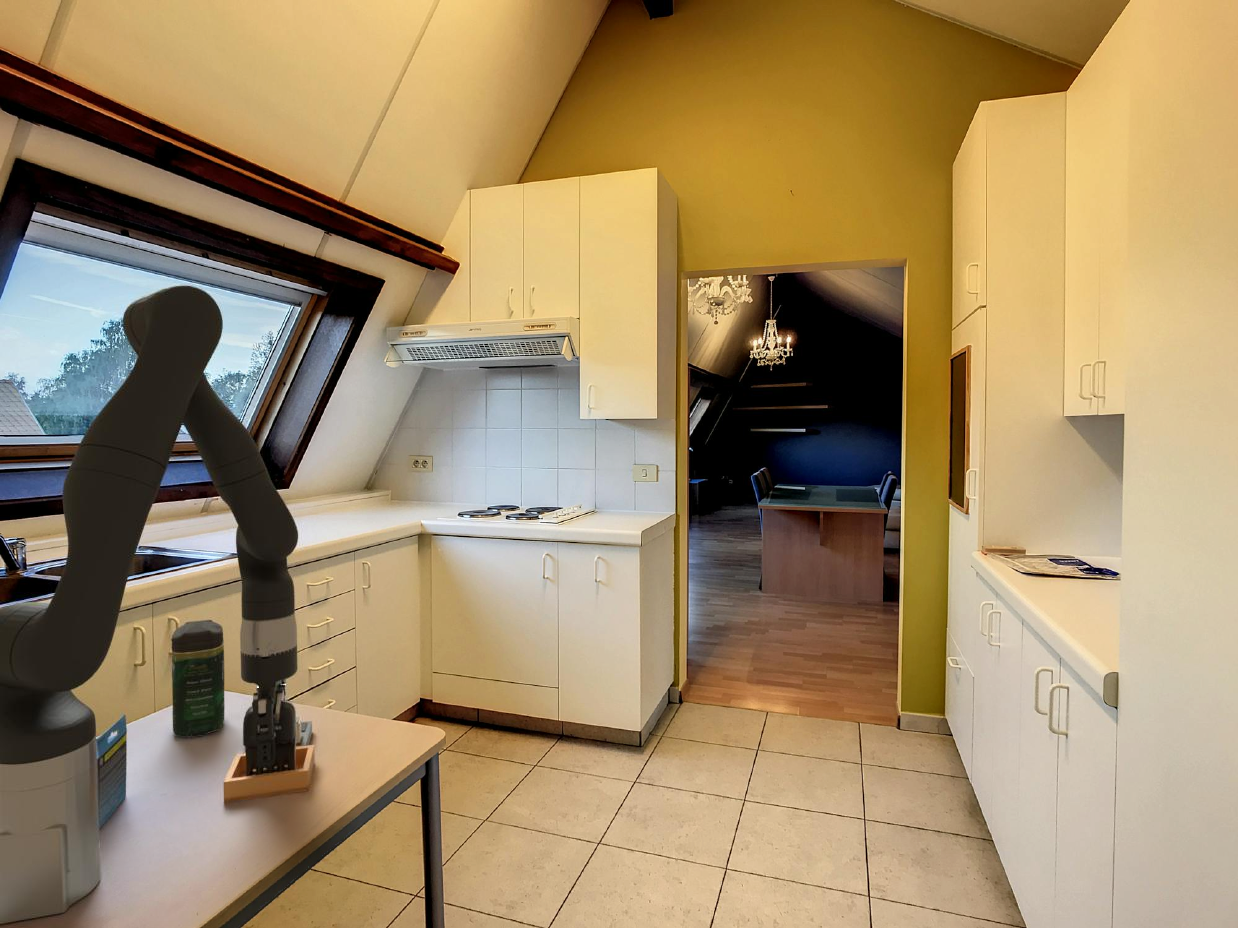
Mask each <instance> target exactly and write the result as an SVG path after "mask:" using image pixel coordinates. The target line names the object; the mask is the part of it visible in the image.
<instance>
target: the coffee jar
mask: <svg viewBox="0 0 1238 928" xmlns="http://www.w3.org/2000/svg"><path fill="white" fill-rule="evenodd" d="M170 641H171V681H172V682H171V684H172V685H171V686H172V687H171V689H172V693H171V694H172V731H173V734H174V735H175V737H177V738H179V737H180V738H181V737H183V738H184V737H189V738H190V737H191V738H196V737H202V736H205V735H207V734H209V733H211V732H214V731H219V730H220V729H221V728H222V727H223V724H224V722H225V709H226V708H225V707H226V706H225V647H224V646H225V645H224V643H225V642H224V631H223V626H222V625H221V624H219V623H217V622H216V621H213V620H212V619H205V620H193V621H192V620H191V621H187V622H185V623H184V624H183V625H181V626H179V627H178V628H176V629H175V630H174V632H173V634H172V635H171V639H170Z"/></svg>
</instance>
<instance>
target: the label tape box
mask: <svg viewBox="0 0 1238 928" xmlns="http://www.w3.org/2000/svg"><path fill="white" fill-rule="evenodd" d="M127 732H128V730H127V718H126V714H125V713H124V714H123V715H122V716H121V717H120V718H119V719H118V720H116V722H114V723H113V724H112V725H111V726H110V727H108V729H106V730H105V731H104V732H103V733H102V734H100V735H99V736H98V737H96V752H97V786H98V816H99V830H100V829H101V827H102V826H103V825H104V824H105V822H106V821H107V820H108V819H109V818H110V816H112V814H113V813H114V811H116V809H117V808H118V806H120V804H121V803H122V802H123V801H124V799H125V798H126V797H127V765H128V764H127V755H128V754H127V743H128V742H127V739H128V738H127V735H128V734H127ZM112 733H113V734H115V733H116V734H115V735H113V736H111V735H112Z"/></svg>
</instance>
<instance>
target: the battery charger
mask: <svg viewBox="0 0 1238 928" xmlns="http://www.w3.org/2000/svg"><path fill="white" fill-rule="evenodd" d="M296 711H297V710H296V707H295V704H294V703H293V702H292V701H289V700H287V701H285V700H283V702H282V704H281V715H280V721H279V722H278V723H277V724H276V732H275V733H276V736H275V762H274V764H272V765H267V766H259V765H258V764H257V742H255V743H253V740H252V736H253V708H252V705H250V706H249V707H248V708H247V710H246V711H245V713H244V714H245V715H244V717H243V723H242V745H243V747H244V750H245V753H246V776H254V775H261V774H268V773H276V772H283V771H290V770H296V717H297V712H296ZM275 713H276V712H275ZM275 713H274V714H273V715H275ZM265 731H268V725H262V726H261V732H265Z"/></svg>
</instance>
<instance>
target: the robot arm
mask: <svg viewBox="0 0 1238 928" xmlns="http://www.w3.org/2000/svg"><path fill="white" fill-rule="evenodd" d="M223 328H224V325H223V315H222V312H221V310H220V307H219V305H218V303H217V302H216V300H215V299H214V298H213V297H212V295H211V294H210V293H208V292H207V291H205V290H204V289H202V288H201V287H197V286H193V285H188V284H187V285H186V284H180V285H172V286H167V287H164V288H160V289H158V290H156V291H154V292H150V293H148V294H146V295H144V296H141V297H139V298H137V299H135V300H134V301H132V302H131V303H130V304H129V305H127V308H126V309H125V311H124V312H123V317H122V329H123V333H124V335H125V337H126V339H127V342H128V343H129V345H130V346H131V348H132V349H133V351H134V352H135V354H136V355H137V358H136V360H135V362H134V364H133V367H132V369H131V370H130V373H129V375H128V376H127V377H126V379H125V381H124V382H123V383H122V384H121V385H120V386H119V388H118V390H116V391H115V393H114V395H112V397H111V398H110V399H109V400H108V401H107V403H106V404H105V405H104V407H102V409H101V410H100V411H99V413H98V414H97V415H96V416H95V418H94V420H93V421H92V423H91V424H90V425H89V427H88V428H87V430H86V432H85V433H84V436H83V437H82V440H81V442H80V443H79V445H78V447H77V449H76V452H75V453H74V456H73V459H72V461H71V464H70V466H69V468H68V471H67V474H66V476H65V479H64V482H63V485H62V487H63V488H62V506H63V508H62V509H63V516H64V522H65V528H66V535H67V556H66V562H65V565H64V568H63V571H62V574H61V577H60V579H59V581H58V584H57V587H56V589H55V591H54V594H53V596H52V597H51V600H50V602H49V603H48V602H47V603H46V602H34V601H33V602H32V601H30V602H29V601H28V602H26V601H25V602H18V603H13V604H11V605H7V606H5V607H3V608H1V609H0V925H2V924H6V923H8V924H9V923H12V922H13V923H14V922H19V921H23V920H24V921H25V920H30V919H34V918H35V919H36V918H41V917H46V916H47V917H48V916H51V915H52V916H53V915H57V914H62V913H65V912H66V911H67V910H68V909H69V908H70V906H72V905H73V904H75V903H76V902H78V901H79V900H81V899H82V898H84V897H86V896H88V894H89V893H90V892H92V891H93V890H94V889H95V887H97V885H98V883H100V881H101V880H100V879H101V848H100V847H101V846H100V845H101V844H100V829H99V816H98V786H97V752H96V739H97V730H96V729H97V724H96V715H95V713H94V711H93V709H92V708H90V707H89V706H88V705H86V704H85V703H84V702H82V701H81V700H80V699H79V698H78V697H77V696H76V695H75V694H74V693H73V692H72V690H75V689H77V688H79V687H80V686H82V685H84V684H85V683H87V682H88V681H89V680H90V679H91V678H92V677H94V675H95V674H96V673H97V672H98V670H99V669H100V667H101V666H102V665H103V662H104V661H105V659H106V657H107V655H108V653H109V650H110V647H111V645H112V642H113V638H114V635H115V631H116V627H117V624H118V619H119V614H120V612H121V606H122V602H123V599H124V593H125V590H126V585H127V583H128V578H129V575H130V571H131V567H132V564H133V561H134V559H135V555H136V553H137V550H138V547H139V545H140V544H139V543H140V540H141V538H142V535H143V532H144V529H145V526H146V522H147V520H148V516H149V514H150V512H151V510H152V507H153V504H154V503H155V500H156V499H157V495H158V493H159V490H160V488H161V485H162V482H163V479H164V476H165V474H166V471H167V469H168V465H169V463H170V459H171V455H172V453H173V451H174V448H175V445H176V442H177V439H178V436H179V434H180V431H181V428H182V426H184V428H185V430H186V431H187V434H188V435H189V437H190V439H191V441H192V443H193V444H194V446H195V448H196V450H197V452H198V455H199V456H200V459H201V461H202V462H203V464H204V466H205V469H206V471H207V473H208V475H209V478H210V479H211V482H212V484H213V486H214V488H215V490H216V492H217V493H218V496H219V497H220V498H221V500H222V502H224V503H225V504H226V505H227V506H228V507H229V509H230V511H231V513H232V515H233V517H234V520H235V521H236V524H237V528H236V532H235V546H236V547H235V548H236V556H237V563H238V564H237V565H238V569H239V576H240V581H241V600H240V601H241V625H240V631H239V633H240V634H239V635H240V636H239V637H240V639H239V641H240V678H241V680H243V681H244V682H245V683H248V684H255V685H257V686H256V688H255V689H256V691H255V692H253V695H252V702H251V706H252V708H253V736H252V740H253V743H255V742H257V764H258V765H259V766H267V765H272V764H274V762H275V736H276V733H275V732H276V724H277V723H278V722H279V721H280V715H281V704H282V702H283V700H285V701H288V699H287V697H288V696H287V683H286V681H287V679H290V678H291V677H293V676H295V674H297V672H298V666H299V665H298V627H297V626H298V625H297V619H296V613H295V612H296V611H295V610H296V605H295V603H296V601H295V595H296V594H295V586H294V585H295V584H294V580H293V578H292V577H291V575H290V572H289V569H288V557H289V556H291V554H292V553H293V552H294V550H295V549H296V548H297V545H298V543H299V541H298V540H299V530H298V527H297V524H296V522H295V519H294V517H293V515H292V513H291V511H290V510H289V508H288V506H287V505H286V504H287V503H285V501H284V500H283V498H282V496H281V495H280V493H279V491H278V490H277V488H276V487H275V486H274V483H273V481H272V480H271V477H270V473H269V471H268V469H267V466H266V464H265V461H264V460H263V457H262V455H261V453H260V450H259V448H258V446H257V444H256V442H255V440H254V438H253V437H252V435H251V434H250V432H249V430H248V429H247V428H246V427H245V425H244V424H243V423H242V421H241V420H240V419H239V418H238V417H237V416H236V414H234V413H233V412H232V411H231V409H230V408H229V407H228V406H227V405H226V403H224V401H223V400H222V399H221V398H220V397H219V396H218V394H217V393H216V392H215V390H214V388H213V387H212V386H211V384H210V382H209V380H208V378H207V377H206V374H205V370H206V368H207V366H208V364H209V363H210V361H211V358H212V357H213V355H214V353H215V351H216V350H217V347H218V346H219V343H220V341H221V338H222V336H223V335H222V333H223ZM275 712H276V713H275ZM274 713H275V715H273V714H274ZM262 725H268V731H265V732H261V726H262Z"/></svg>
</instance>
